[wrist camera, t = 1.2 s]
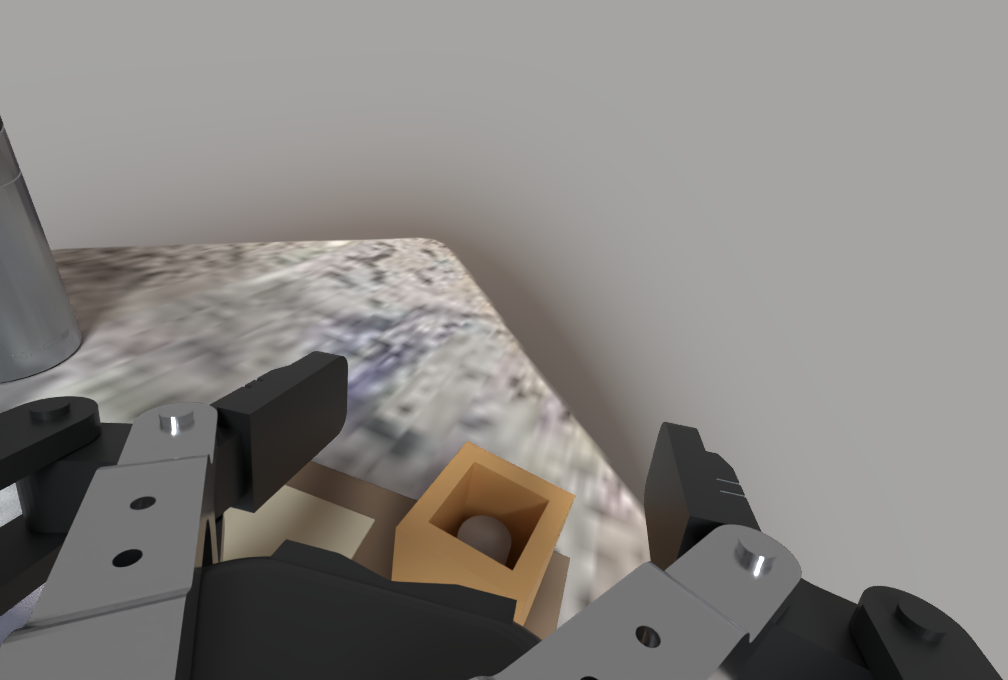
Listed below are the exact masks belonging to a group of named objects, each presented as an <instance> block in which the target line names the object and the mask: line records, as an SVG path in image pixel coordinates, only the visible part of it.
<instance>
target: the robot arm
mask: <svg viewBox="0 0 1008 680" xmlns="http://www.w3.org/2000/svg"><path fill="white" fill-rule="evenodd" d="M81 340H82V335H81V331H80V328H79V326H78V323H77V320H76V317H75V315H74V312H73V309H72V307H71V304H70V301H69V299H68V296H67V293H66V290H65V287H64V285H63V282H62V279H61V277H60V274H59V271H58V268H57V266H56V263H55V260H54V258H53V255H52V252H51V250H50V247H49V244H48V242H47V239H46V236H45V234H44V231H43V228H42V226H41V223H40V221H39V218H38V215H37V212H36V210H35V207H34V205H33V202H32V199H31V196H30V194H29V191H28V188H27V186H26V183H25V180H24V178H23V175H22V173H21V170H20V168H19V165H18V163H17V160H16V157H15V154H14V152H13V149H12V146H11V144H10V141H9V138H8V135H7V133H6V130H5V128H4V126H3V122H2V119H1V117H0V383H1V382H7V381H12V380H16V379H20V378H24V377H28V376H30V375H33V374H36V373H39V372H42V371H44V370H46V369H49V368H51V367H53V366H55V365H57V364H59V363H60V362H62V361H63V360H65V359H67V358H68V357H69V356H70V355H71V354H73V353H74V352H75V351H76V349H77V348H78V347H79V345H80V343H81ZM347 385H348V363H347V360H346V358H345V357H344V356H339V355H334V354H329V353H324V352H319V351H314V352H312V353H310V354H309V355H307V356H305V357H303V358H302V359H300V360H298V361H296V362H295V363H293V364H291V365H289V366H285V367H282V368H278V369H274V370H271V371H270V372H268V373H266V374H264V375H262V376H261V377H259V378H257V380H253V381H252V382H250V383H248V384H246V385H245V387H241V388H239V389H237V390H236V391H234V392H232V393H230V394H228V395H227V396H225V397H223V398H221V399H219V400H218V401H216V402H214V403H212V404H210V405H207V404H203V403H195V402H181V403H173V404H167V405H163V406H159V407H156V408H153V409H150V410H148V411H146V412H144V413H142V414H141V415H140V416H138V417H137V418H136V419H135V421H134V423H133V424H123V423H100V417H99V411H98V405H97V403H96V402H95V401H94V400H91V399H89V398H85V397H75V396H65V397H54V398H47V399H41V400H37V401H33V402H29V403H26V404H23V405H20V406H18V407H15V408H13V409H10V410H8V411H5V412H3V413H0V490H2V489H4V488H6V487H8V486H10V485H12V484H13V483H16V487H17V491H18V496H19V500H20V504H21V509H22V513H23V514H22V515H20V516H18V517H17V518H15V519H13V520H12V521H10V522H8V523H7V524H5V525H3V526H2V527H0V616H2V615H3V614H4V613H6V612H7V611H8V610H9V609H11V608H12V607H13V606H15V605H16V604H17V603H19V602H20V601H21V600H23V599H24V598H25V597H27V596H28V595H29V594H31V593H32V592H33V591H34V590H36V589H37V588H38V587H40V586H41V585H42V584H44V583H45V582H46V581H47V582H46V584H45V586H44V588H43V590H42V593H41V595H40V597H39V599H38V602H37V604H36V606H35V608H34V611H33V613H32V615H31V617H30V619H29V621H28V622H27V624H26V625H25V626H24V627H22V628H19V629H16V630H14V631H13V632H11V633H10V634H9V636H8V637H7V638H6V639H5V641H4V642H3V644H2V645H1V646H0V680H1003V679H1002V678H1001V677H1000V675H999V674H998V673H997V671H996V670H995V669H994V667H993V666H992V665H991V663H990V662H989V661H988V659H987V658H986V657H985V655H984V654H983V652H982V651H981V650H980V648H979V647H978V646H977V644H976V643H975V642H974V640H973V639H972V638H971V637H970V636H969V634H968V633H967V632H966V631H965V630H964V629H963V628H962V627H961V626H960V625H959V624H958V623H957V622H955V621H954V620H953V619H952V618H951V617H949V616H948V615H946V614H945V613H944V612H942V611H941V610H939V609H938V608H936V607H935V606H933V605H931V604H930V603H928V602H926V601H924V600H923V599H920V598H919V597H916V596H914V595H912V594H910V593H907V592H905V591H902V590H899V589H895V588H890V587H886V586H873V587H869V588H867V589H866V590H865V591H864V592H863V594H862V596H861V598H860V600H859V602H858V604H856V603H853V602H851V601H849V600H847V599H844V598H842V597H840V596H837V595H835V594H832V593H830V592H828V591H826V590H824V589H821V588H819V587H817V586H815V585H813V584H811V583H809V582H807V581H806V580H804V579H802V578H801V574H802V571H801V567H800V565H799V563H798V561H797V559H796V558H795V557H794V555H793V554H792V553H791V552H790V551H789V550H788V549H787V548H786V547H785V546H783V545H782V544H781V543H779V542H778V541H776V540H775V539H773V538H772V537H770V536H768V535H766V534H764V533H762V532H761V530H760V528H759V526H758V523H757V521H756V519H755V516H754V514H753V512H752V510H751V508H750V505H749V503H748V501H747V499H746V498H744V495H745V494H744V492H743V490H742V488H741V486H740V485H739V481H738V479H737V476H736V475H735V472H734V470H733V468H732V467H731V466H730V465H729V464H728V463H727V462H726V461H725V460H724V459H723V458H722V457H721V456H719V455H718V454H716V453H712V452H707V451H705V448H704V446H703V443H702V440H701V437H700V435H699V432H698V430H697V429H696V428H692V427H687V426H682V425H677V424H673V423H668V422H663V424H662V425H661V428H660V431H659V434H658V438H657V442H656V446H655V449H654V453H653V457H652V461H651V465H650V469H649V473H648V476H647V480H646V486H645V493H644V509H645V517H646V525H647V533H648V541H649V550H650V558H651V561H649V562H646V563H643V564H642V565H640V566H639V567H638V568H636V569H635V570H634V571H633V572H631V573H630V574H629V575H627V576H626V577H625V578H623V579H622V580H621V581H619V582H618V583H617V584H616V585H614V586H613V587H612V588H610V589H609V590H608V591H606V592H605V593H604V594H602V595H601V596H600V597H599V598H597V599H596V600H595V601H593V602H592V603H591V604H589V605H588V606H587V607H585V608H584V609H583V610H582V611H580V612H579V613H578V614H576V615H575V616H574V617H572V618H571V619H570V620H568V621H567V622H566V623H565V624H563V625H562V626H561V627H559V628H558V629H557V630H555V631H554V632H553V633H551V634H550V635H549V636H548V637H546V638H545V639H544V640H541V639H540V638H539V637H538V636H537V635H535V634H534V633H532V632H531V631H529V630H528V629H526V628H525V627H523V626H522V625H520V624H518V623H516V622H515V621H514V615H515V609H516V604H517V600H515V599H511V598H507V597H504V596H500V595H496V594H492V593H489V592H485V591H481V590H477V589H473V588H470V587H466V586H462V585H458V584H441V583H420V582H399V581H392V580H388V579H386V578H384V577H382V576H380V575H379V574H377V573H375V572H373V571H371V570H369V569H368V568H366V567H364V566H362V565H360V564H359V563H357V562H355V561H353V560H351V559H349V558H348V557H346V556H344V555H342V554H340V553H337V552H333V551H329V550H326V549H322V548H318V547H314V546H310V545H307V544H303V543H299V542H295V541H291V540H288V539H286V540H285V541H284V542H283V543H282V544H281V545H280V546H279V547H278V549H277V550H276V551H275V552H274V553H273V554H272V555H271V556H257V557H245V558H238V559H232V560H228V561H223V552H224V534H225V518H224V512H225V511H226V510H228V509H229V508H230V507H231V508H235V509H239V510H243V511H247V512H251V513H255V512H256V511H257V510H258V509H259V508H260V507H261V506H263V505H264V504H265V503H266V502H267V501H268V500H269V499H270V498H271V497H272V496H273V495H274V494H275V493H276V492H277V491H279V490H280V489H281V488H282V487H283V486H284V485H285V484H286V483H287V482H288V481H289V480H290V479H291V478H292V477H293V476H295V475H296V474H297V473H298V472H299V471H300V470H301V469H302V468H303V467H304V466H305V465H306V464H307V463H308V462H310V461H311V460H312V459H313V458H314V457H315V456H316V455H317V454H318V453H319V452H320V451H321V450H322V449H323V448H324V447H326V446H327V445H328V444H329V443H330V442H331V441H332V440H333V439H334V438H335V437H336V436H337V435H338V434H339V433H340V431H341V429H342V427H343V425H344V422H345V419H346V414H347Z"/></svg>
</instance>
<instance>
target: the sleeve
mask: <svg viewBox="0 0 1008 680" xmlns="http://www.w3.org/2000/svg"><path fill="white" fill-rule="evenodd" d="M574 498H575V495H573V494H571V493H569V492H567V491H565V490H563V489H561V488H559V487H557V486H555V485H553V484H551V483H549V482H547V481H545V480H543V479H541V478H539V477H537V476H536V475H534V474H532V473H530V472H528V471H526V470H524V469H522V468H520V467H518V466H516V465H514V464H512V463H510V462H508V461H506V460H504V459H502V458H500V457H498V456H496V455H494V454H492V453H490V452H488V451H486V450H484V449H482V448H480V447H478V446H476V445H474V444H472V443H470V442H469V441H467V442H466V443H465V444H464V446H463V447H462V448H461V449H460V451H459V452H458V453H457V454H456V455H455V457H454V458H453V459H452V460H451V461H450V463H449V464H448V465H447V466H446V468H445V469H444V470H443V471H442V472H441V474H440V475H439V476H438V477H437V478H436V480H435V481H434V482H433V483H432V484H431V486H430V487H429V488H428V489H427V491H426V492H425V493H424V494H423V495H422V497H421V498H420V499H419V500H418V501H417V503H416V504H415V505H414V506H413V508H412V509H411V510H410V511H409V512H408V514H407V515H406V516H405V517H404V518H403V520H402V521H401V522H400V523H399V525H398V526H397V527H396V532H395V544H394V555H393V567H392V579H391V580H392V581H399V582H420V583H441V584H458V585H462V586H466V587H470V588H473V589H477V590H481V591H485V592H489V593H492V594H496V595H500V596H504V597H507V598H511V599H515V600H517V604H516V609H515V615H514V621H515V622H516V623H518V624H520V625H522V626H523V625H524V623H525V621H526V619H527V616H528V614H529V611H530V609H531V606H532V604H533V601H534V599H535V596H536V593H537V591H538V588H539V586H540V583H541V581H542V578H543V576H544V573H545V571H546V568H547V566H548V563H549V561H550V558H551V556H552V553H553V551H554V548H555V546H556V543H557V541H558V538H559V536H560V533H561V531H562V528H563V526H564V523H565V521H566V518H567V516H568V513H569V511H570V508H571V506H572V503H573V501H574ZM478 515H486V516H491V517H494V518H496V519H498V520H499V521H501V522H502V523H503V524H504V525H505V526H506V527H507V529H508V531H509V533H510V536H511V548H510V551H509V555H508V558H507V561H506V564H505V566H504V565H502V564H500V563H498V562H497V561H495V560H493V559H492V558H490V557H488V556H486V555H485V554H483V553H481V552H479V551H478V550H476V549H474V548H472V547H471V546H469V545H467V544H466V543H464V542H462V541H460V540H459V539H457V535H458V531H459V529H460V527H461V525H462V524H463V523H464V522H465V521H466V520H467V519H469V518H471V517H474V516H478Z"/></svg>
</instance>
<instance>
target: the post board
mask: <svg viewBox="0 0 1008 680" xmlns="http://www.w3.org/2000/svg"><path fill="white" fill-rule="evenodd" d="M416 503H417V501H416V500H414V499H411V498H408V497H405V496H403V495H400V494H397V493H395V492H392V491H389V490H387V489H384V488H381V487H379V486H376V485H373V484H371V483H368V482H365V481H363V480H360V479H357V478H355V477H352V476H349V475H346V474H344V473H341V472H338V471H336V470H333V469H330V468H328V467H325V466H322V465H320V464H317V463H314V462H312V461H310V462H308V463H307V464H306V465H305V466H304V467H303V468H302V469H301V470H300V471H299V472H298V473H297V474H296V475H295V476H293V477H292V478H291V479H290V480H289V481H288V482H287V483H286V484H285V485H284V486H283V487H282V488H281V489H280V490H279V491H277V492H276V493H275V494H274V495H273V496H272V497H271V498H270V499H269V500H268V501H267V502H266V503H265V504H264V505H263V506H261V507H260V508H259V509H258V510H257V511H256V512H255V513H251V512H247V511H243V510H239V509H235V508H231V507H230V508H229V509H228V510H226V511H225V512H224V518H225V534H224V552H223V561H228V560H232V559H238V558H245V557H257V556H271V555H272V554H273V553H274V552H275V551H276V550H277V549H278V547H279V546H280V545H281V544H282V543H283V542H284V541H285V540H286V539H288V540H291V541H295V542H299V543H303V544H307V545H310V546H314V547H318V548H322V549H326V550H329V551H333V552H337V553H340V554H342V555H344V556H346V557H348V558H349V559H351V560H353V561H355V562H357V563H359V564H360V565H362V566H364V567H366V568H368V569H369V570H371V571H373V572H375V573H377V574H379V575H380V576H382V577H384V578H386V579H388V580H391V579H392V567H393V555H394V544H395V532H396V527H397V526H398V525H399V523H400V522H401V521H402V520H403V518H404V517H405V516H406V515H407V514H408V512H409V511H410V510H411V509H412V508H413V506H414V505H415V504H416ZM457 539H459V540H460V541H462V542H464V543H466V544H467V545H469V546H471V547H472V548H474V549H476V550H478V551H479V552H481V553H483V554H485V555H486V556H488V557H490V558H492V559H493V560H495V561H497V562H498V563H500V564H502V565H504V566H505V564H506V561H507V558H508V555H509V551H510V548H511V536H510V533H509V531H508V529H507V527H506V526H505V525H504V524H503V523H502V522H501V521H499V520H498V519H496V518H494V517H491V516H486V515H478V516H474V517H471V518H469V519H467V520H466V521H465V522H464V523H463V524H462V525H461V527H460V529H459V531H458V535H457ZM569 561H570V558H569V557H567V556H564V555H561V554H558V553H556V552H553V553H552V556H551V558H550V561H549V563H548V566H547V568H546V571H545V573H544V576H543V578H542V581H541V583H540V586H539V588H538V591H537V593H536V596H535V599H534V601H533V604H532V606H531V609H530V611H529V614H528V616H527V619H526V621H525V623H524V625H523V627H525V628H526V629H528V630H529V631H531V632H532V633H534V634H535V635H537V636H538V637H539V638H540V639H541V640H544V639H545V638H546V637H548V636H549V635H550V634H551V633H553V632H554V631H555V630H556V628H557V623H558V618H559V613H560V607H561V602H562V597H563V592H564V587H565V582H566V577H567V572H568V566H569Z"/></svg>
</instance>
